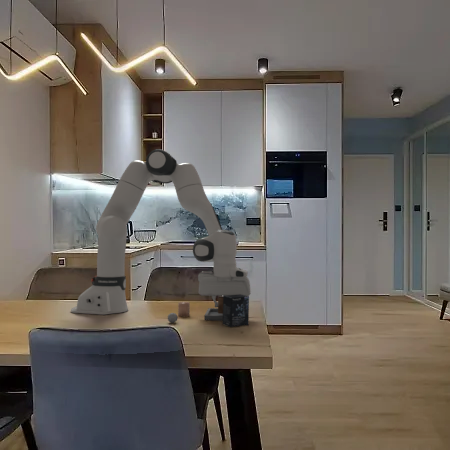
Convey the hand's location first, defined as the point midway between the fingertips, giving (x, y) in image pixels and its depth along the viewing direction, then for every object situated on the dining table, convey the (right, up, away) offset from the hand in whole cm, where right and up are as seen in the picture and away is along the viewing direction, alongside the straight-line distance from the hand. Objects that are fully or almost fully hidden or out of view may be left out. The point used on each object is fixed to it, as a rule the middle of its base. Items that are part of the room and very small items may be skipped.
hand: (224, 307), depth 201 cm
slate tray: (0, -4, 0) cm, 4 cm away
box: (+4, -4, -15) cm, 16 cm away
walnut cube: (0, -2, 0) cm, 2 cm away
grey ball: (-19, -4, -13) cm, 23 cm away
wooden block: (-16, -4, +2) cm, 16 cm away
